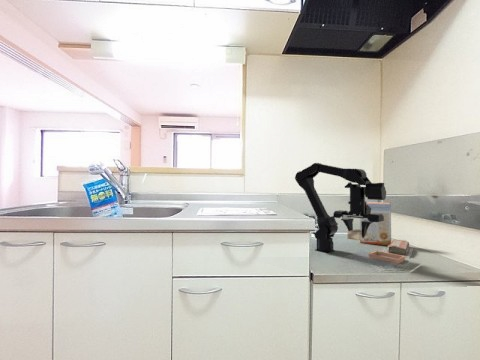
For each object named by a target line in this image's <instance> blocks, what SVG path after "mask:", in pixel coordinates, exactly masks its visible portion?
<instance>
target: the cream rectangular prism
mask: <svg viewBox="0 0 480 360" xmlns="http://www.w3.org/2000/svg"><path fill="white" fill-rule="evenodd" d="M365 238H367V232H366V234H365V237H364V238H362V230H360V228H359V229H358V228H356V229H353V230H351V231H348V230H347V240H353V241H359V242H360V240H362V239H365Z"/></svg>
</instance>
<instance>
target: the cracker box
mask: <svg viewBox="0 0 480 360" xmlns="http://www.w3.org/2000/svg"><path fill="white" fill-rule="evenodd" d="M366 203H367V206H369V207H370V208H371V213H378V214H382V215H383V216H384V221H381V222H373V223H371V224H370V225H369V227H368V229H367V238H365V239H362V240H359V243H361V244H370V245H377V246H386V247H388V245H390V244H391V243H392V208H391V207H392V204H391V202H376V201H375V202H373V201H372V202H371V201H366ZM361 221H364V219H362V218H359V229H360V230H362V226H361Z"/></svg>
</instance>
